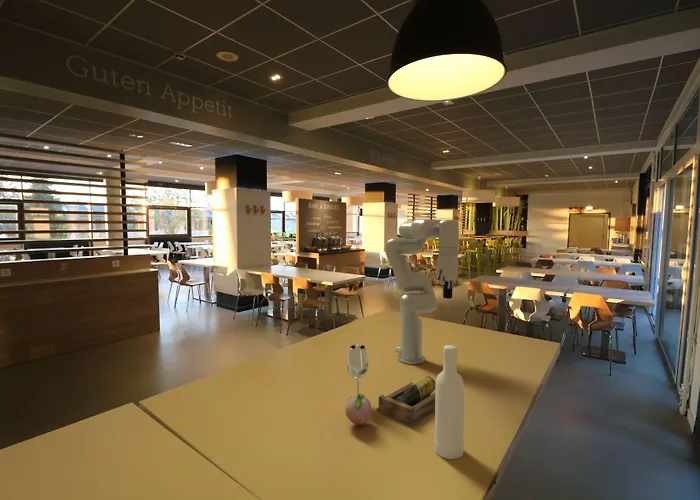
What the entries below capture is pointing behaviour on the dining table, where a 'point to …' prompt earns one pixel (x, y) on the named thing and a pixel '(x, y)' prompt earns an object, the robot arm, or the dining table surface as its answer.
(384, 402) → the cradle
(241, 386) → the dining table surface
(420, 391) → the sauce bottle
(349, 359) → the wineglass
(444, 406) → the bottle
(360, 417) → the decorative fruit
